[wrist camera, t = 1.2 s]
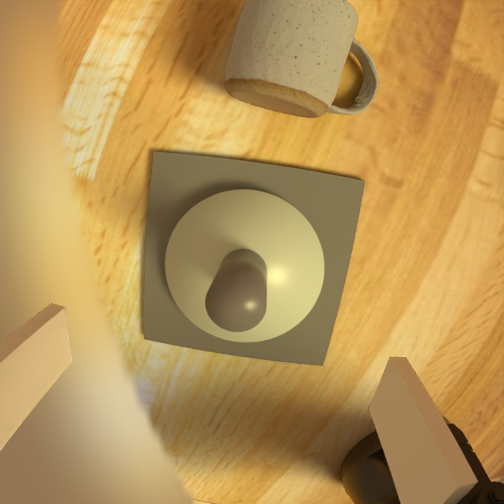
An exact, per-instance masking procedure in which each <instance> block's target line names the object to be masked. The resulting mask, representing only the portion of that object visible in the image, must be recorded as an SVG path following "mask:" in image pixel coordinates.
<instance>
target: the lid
mask: <svg viewBox="0 0 504 504" xmlns="http://www.w3.org/2000/svg"><path fill="white" fill-rule="evenodd" d="M165 273H166V280H167V283H168V287H169V290H170V292H171V295H172V297H173V299H174V301H175V302H176V304H177V306H178V307H179V309H180V310H181V311H182V312H183V314H184V315H185V316H186V317H187V318H188V319H189V320H190V321H191V322H192V323H194V324H195V325H196V326H197V327H199V328H200V329H202V330H204V331H205V332H207V333H209V334H211V335H213V336H215V337H218V338H221V339H224V340H229V341H234V342H258V341H264V340H268V339H272V338H274V337H277V336H279V335H282V334H284V333H285V332H287V331H289V330H291V329H292V328H293V327H295V326H296V325H297V324H299V323H300V322H301V321H302V320H303V319H304V318H305V317H306V316H307V314H308V313H309V312H310V311H311V309H312V308H313V306H314V304H315V303H316V301H317V299H318V296H319V294H320V292H321V288H322V285H323V279H324V256H323V251H322V247H321V244H320V241H319V239H318V237H317V234H316V232H315V231H314V229H313V228H312V226H311V224H310V223H309V222H308V220H307V219H306V218H305V217H304V215H303V214H302V213H301V212H300V211H299V210H297V209H296V208H295V207H294V206H293V205H291V204H290V203H289V202H287V201H286V200H284V199H282V198H280V197H278V196H276V195H273V194H270V193H268V192H264V191H259V190H254V189H234V190H229V191H224V192H221V193H218V194H215V195H212V196H210V197H208V198H206V199H204V200H203V201H201V202H199V203H198V204H196V205H195V206H194V207H192V208H191V209H190V210H189V211H188V212H187V213H186V214H185V215H184V216H183V217H182V218H181V220H180V221H179V222H178V224H177V225H176V227H175V229H174V230H173V232H172V235H171V237H170V239H169V242H168V246H167V250H166V256H165Z"/></svg>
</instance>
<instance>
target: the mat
mask: <svg viewBox="0 0 504 504" xmlns="http://www.w3.org/2000/svg"><path fill="white" fill-rule="evenodd" d="M364 184H365V181H363V180H358V179H353V178H348V177H343V176H337V175H332V174H327V173H321V172H315V171H310V170H304V169H298V168H292V167H285V166H279V165H272V164H265V163H258V162H251V161H243V160H235V159H227V158H218V157H209V156H200V155H190V154H179V153H167V152H154V154H153V163H152V172H151V182H150V192H149V203H148V216H147V231H146V248H145V272H144V339H147V340H151V341H156V342H161V343H166V344H171V345H176V346H181V347H187V348H192V349H198V350H204V351H209V352H216V353H222V354H228V355H235V356H242V357H249V358H256V359H264V360H272V361H280V362H289V363H299V364H309V365H320V366H323V363H324V360H325V357H326V353H327V350H328V346H329V343H330V339H331V335H332V332H333V328H334V324H335V320H336V316H337V313H338V309H339V305H340V301H341V297H342V292H343V288H344V284H345V280H346V275H347V271H348V267H349V262H350V257H351V253H352V248H353V243H354V238H355V233H356V228H357V223H358V218H359V212H360V207H361V201H362V196H363V190H364ZM234 189H254V190H259V191H264V192H268V193H270V194H273V195H276V196H278V197H280V198H282V199H284V200H286V201H287V202H289V203H290V204H291V205H293V206H294V207H295V208H296V209H297V210H299V211H300V212H301V213H302V214H303V215H304V217H305V218H306V219H307V220H308V222H309V223H310V224H311V226H312V228H313V229H314V231H315V232H316V234H317V237H318V239H319V241H320V244H321V247H322V251H323V256H324V279H323V285H322V288H321V292H320V294H319V296H318V299H317V301H316V303H315V304H314V306H313V308H312V309H311V311H310V312H309V313H308V314H307V316H306V317H305V318H304V319H303V320H302V321H301V322H300V323H299V324H297V325H296V326H295V327H293V328H292V329H291V330H289V331H287V332H285V333H284V334H282V335H279V336H277V337H274V338H272V339H268V340H264V341H258V342H234V341H229V340H224V339H221V338H218V337H215V336H213V335H211V334H209V333H207V332H205V331H204V330H202V329H200V328H199V327H197V326H196V325H195V324H194V323H192V322H191V321H190V320H189V319H188V318H187V317H186V316H185V315H184V314H183V312H182V311H181V310H180V309H179V307H178V306H177V304H176V302H175V301H174V299H173V297H172V295H171V292H170V290H169V287H168V283H167V280H166V273H165V256H166V250H167V246H168V242H169V239H170V237H171V235H172V232H173V230H174V229H175V227H176V225H177V224H178V222H179V221H180V220H181V218H182V217H183V216H184V215H185V214H186V213H187V212H188V211H189V210H190V209H191V208H192V207H194V206H195V205H196V204H198V203H199V202H201V201H203V200H204V199H206V198H208V197H210V196H212V195H215V194H218V193H221V192H224V191H229V190H234Z"/></svg>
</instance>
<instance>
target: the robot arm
mask: <svg viewBox="0 0 504 504" xmlns="http://www.w3.org/2000/svg"><path fill="white" fill-rule="evenodd" d="M72 362H73V359H72V353H71V346H70V340H69V334H68V325H67V317H66V309H65V307H63V306H59V305H56V304H52V303H51V304H50V305H48V306H47V307H46V308H44V309H43V310H42V311H41V312H39V313H38V314H37V315H36V316H34V317H33V318H32V319H30V320H29V321H28V322H26V323H25V324H24V325H22V326H21V327H20V328H19V329H17V330H16V331H15V332H14V333H13V334H11V335H10V336H9V337H7V338H6V339H5V340H4V341H3V342H1V343H0V450H1V449H2V448H3V446H4V445H5V444H6V443H7V441H8V440H9V438H10V437H11V436H12V435H13V433H14V432H15V431H16V430H17V428H18V427H19V426H20V425H21V423H22V422H23V421H24V419H25V418H26V417H27V416H28V415H29V413H30V412H31V411H32V410H33V408H34V407H35V406H36V405H37V404H38V402H39V401H40V400H41V399H42V397H43V396H44V395H45V394H46V393H47V391H48V390H49V389H50V388H51V387H52V385H53V384H54V383H55V382H56V381H57V379H58V378H59V377H60V376H61V375H62V374H63V372H64V371H65V370H66V369H67V368H68V367H69V366H70V364H71V363H72ZM369 411H370V414H371V417H372V419H373V422H374V425H375V428H376V432H374V433H373V434H371V435H369V436H368V437H366V438H365V439H364V440H362V441H361V442H360V443H359V444H358V445H356V446H355V447H354V448H353V449H352V450H351V451H350V453H349V454H348V455H347V457H346V458H345V460H344V462H343V464H342V467H341V475H342V481H343V486H344V488H345V491H346V492H347V494H348V495H349V496H350V498H351V499H352V501H353V502H354V504H504V484H502V483H500V482H495V481H494V482H491V481H490V479H489V477H488V476H487V474H486V472H485V470H484V468H483V467H482V465H481V463H480V461H479V459H478V458H477V456H476V454H475V452H473V449H472V447H471V445H470V444H468V440H467V439H466V437H465V435H464V434H463V432H462V431H461V430H460V429H459V428H457V427H456V426H455V425H454V424H453V423H452V424H451V423H450V422H449V421H448V420H447V419H445V418H444V417H442V415H441V414H440V412H439V410H438V409H437V407H436V405H435V403H434V402H433V400H432V398H431V397H430V395H429V394H428V392H427V390H426V389H425V387H424V385H423V384H422V382H421V380H420V379H419V377H418V376H417V374H416V372H415V371H414V369H413V368H412V366H411V364H410V363H409V361H408V360H407V358H406V357H390V358H389V360H388V363H387V365H386V368H385V370H384V373H383V375H382V378H381V380H380V383H379V385H378V387H377V390H376V392H375V394H374V397H373V399H372V401H371V404H370V406H369Z"/></svg>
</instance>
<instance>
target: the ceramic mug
mask: <svg viewBox="0 0 504 504" xmlns="http://www.w3.org/2000/svg"><path fill="white" fill-rule="evenodd" d="M357 23H358V16H357V13H356V11H355V9H354V8H353V6H352V5H351V4H350V3H349V2H348V1H347V0H245V1H244V4H243V8H242V11H241V14H240V17H239V20H238V23H237V27H236V30H235V34H234V38H233V42H232V45H231V48H230V52H229V55H228V58H227V62H226V67H225V78H224V85H225V88H226V90H227V92H228V93H229V94H230V95H231V96H233V97H234V98H237V99H239V100H241V101H244V102H246V103H249V104H252V105H255V106H259V107H262V108H265V109H269V110H273V111H277V112H281V113H285V114H289V115H294V116H300V117H306V118H317V117H320V116H322V115H324V114H325V113H326V112H329V113H335V114H343V115H352V114H357V113H360V112H362V111H364V110H365V109H366V108H368V107H369V106H370V104H371V103H372V101H373V100H374V98H375V95H376V92H377V89H378V82H379V78H378V71H377V67H376V65H375V62H374V60H373V59H372V57H371V55H370V54H369V52H368V51H367V50H366V49H365V48H364V47H363V46H362V45H361V44H360V43H359V42H358V41H357V40H356V39H354V38H353V37H354V34H355V31H356V28H357ZM349 50H350V51H351V52H352V53H353V54H354V55H355V56H356V58H357V59H358V61H359V63H360V64H361V67H362V69H363V78H364V79H363V83H362V86H361V88H360V91H359V94H358V96H357V97H355V101H354V104H353V105H352V106H351V107H348V108H345V109H344V108H340V107H337V106H335V105H332V102H333V100H334V98H335V96H336V93H337V90H338V87H339V84H340V80H341V76H342V72H343V69H344V65H345V62H346V59H347V57H348V54H349Z"/></svg>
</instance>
